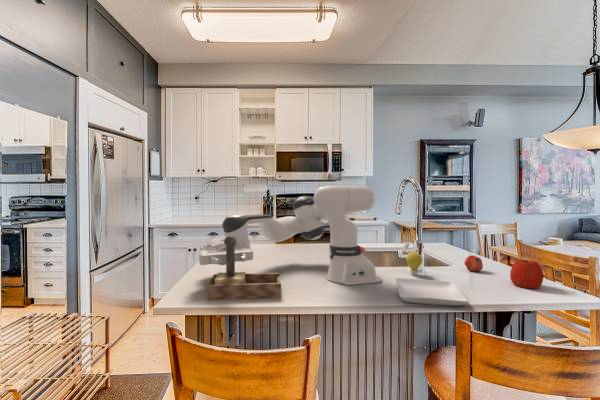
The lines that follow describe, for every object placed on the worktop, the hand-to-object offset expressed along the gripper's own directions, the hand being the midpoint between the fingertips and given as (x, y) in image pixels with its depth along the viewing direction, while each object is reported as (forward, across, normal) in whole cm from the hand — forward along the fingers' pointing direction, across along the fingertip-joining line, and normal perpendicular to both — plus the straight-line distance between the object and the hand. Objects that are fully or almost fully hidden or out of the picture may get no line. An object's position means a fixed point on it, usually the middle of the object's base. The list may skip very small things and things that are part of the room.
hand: (231, 260), depth 120 cm
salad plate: (+32, -62, -13) cm, 71 cm away
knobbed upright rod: (-1, 0, -11) cm, 11 cm away
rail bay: (+1, -5, -12) cm, 13 cm away
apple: (+40, -106, -12) cm, 114 cm away
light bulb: (+10, -78, -12) cm, 80 cm away
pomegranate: (+16, -108, -12) cm, 110 cm away
